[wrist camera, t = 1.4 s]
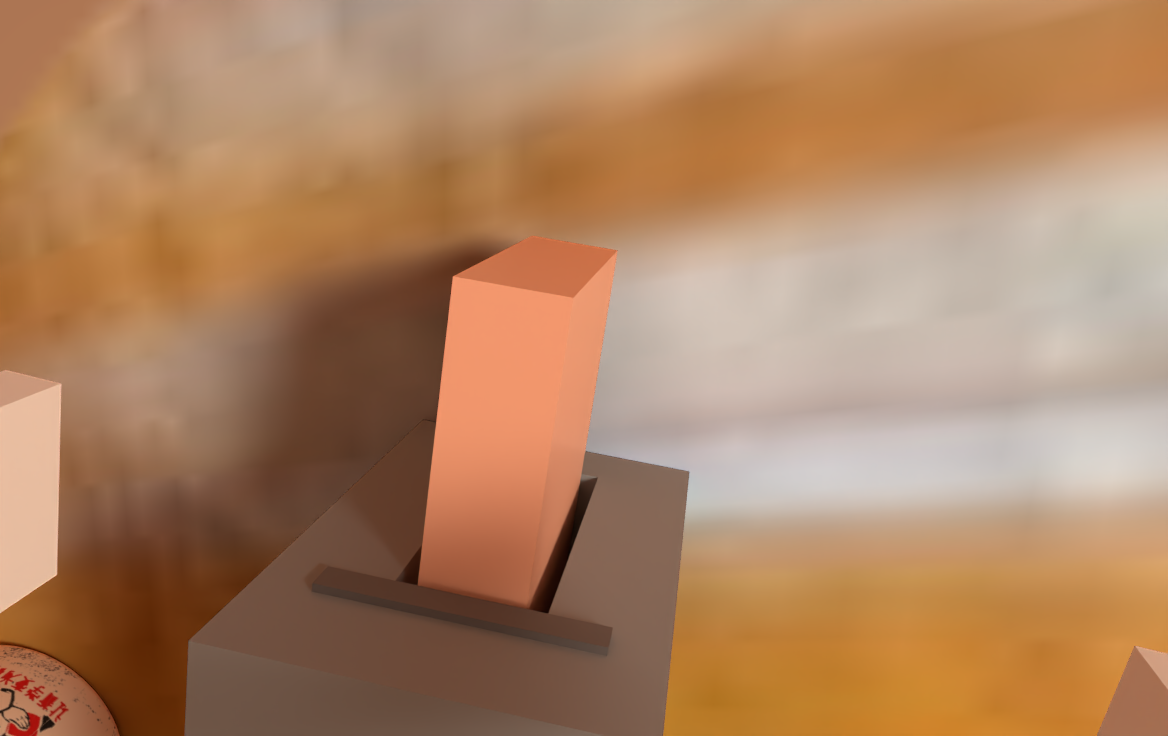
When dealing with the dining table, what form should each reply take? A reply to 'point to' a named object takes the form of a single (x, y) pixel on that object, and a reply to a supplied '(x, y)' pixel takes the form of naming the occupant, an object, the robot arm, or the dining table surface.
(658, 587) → the gray rectangular block
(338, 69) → the dining table surface
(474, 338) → the orange rectangular block
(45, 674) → the teacup with lid
